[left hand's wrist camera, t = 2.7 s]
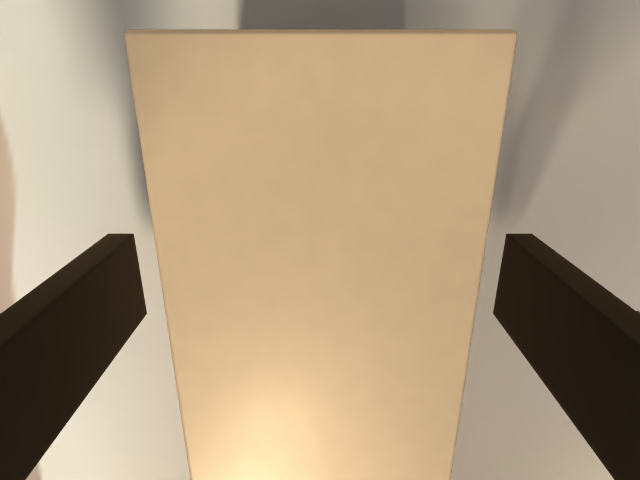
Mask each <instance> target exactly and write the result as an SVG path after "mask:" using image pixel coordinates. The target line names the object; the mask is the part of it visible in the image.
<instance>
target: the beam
mask: <svg viewBox="0 0 640 480" xmlns="http://www.w3.org/2000/svg"><path fill="white" fill-rule="evenodd" d="M124 37H125V44H126V50H127V57H128V64H129V70H130V77H131V84H132V91H133V97H134V104H135V111H136V117H137V124H138V131H139V137H140V144H141V151H142V158H143V164H144V171H145V178H146V184H147V191H148V198H149V204H150V211H151V218H152V224H153V231H154V238H155V245H156V251H157V258H158V265H159V271H160V278H161V285H162V291H163V298H164V305H165V311H166V318H167V325H168V332H169V338H170V345H171V352H172V358H173V365H174V372H175V378H176V385H177V392H178V399H179V405H180V412H181V419H182V425H183V432H184V439H185V445H186V452H187V459H188V465H189V472H190V479H191V480H450V478H451V471H452V464H453V458H454V451H455V444H456V438H457V431H458V425H459V418H460V411H461V405H462V398H463V391H464V385H465V378H466V371H467V365H468V358H469V351H470V345H471V338H472V331H473V325H474V318H475V311H476V305H477V298H478V291H479V285H480V278H481V271H482V265H483V258H484V251H485V245H486V238H487V231H488V225H489V218H490V211H491V205H492V198H493V192H494V185H495V178H496V172H497V165H498V158H499V152H500V145H501V138H502V132H503V125H504V118H505V112H506V105H507V98H508V92H509V85H510V78H511V72H512V65H513V58H514V52H515V45H516V38H517V33H516V31H514V30H512V29H129V30H127V31H125V35H124Z"/></svg>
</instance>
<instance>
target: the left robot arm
mask: <svg viewBox="0 0 640 480" xmlns="http://www.w3.org/2000/svg"><path fill="white" fill-rule="evenodd" d="M146 314H147V311H146V305H145V299H144V293H143V287H142V281H141V275H140V269H139V263H138V257H137V251H136V245H135V239H134V234H107V235H106V236H105V237H103V238H102V239H101V240H99V241H98V242H97V243H95V244H94V245H93V246H91V247H90V248H88V249H87V250H86V251H84V252H83V253H82V254H80V255H79V256H78V257H76V258H75V259H74V260H72V261H71V262H70V263H68V264H67V265H66V266H64V267H63V268H62V269H60V270H59V271H58V272H56V273H55V274H54V275H52V276H51V277H50V278H48V279H47V280H45V281H44V282H43V283H41V284H40V285H39V286H37V287H36V288H35V289H33V290H32V291H31V292H29V293H28V294H27V295H25V296H24V297H23V298H21V299H20V300H19V301H17V302H16V303H15V304H13V305H12V306H11V307H9V308H8V309H6V310H5V311H4V312H2V313H1V314H0V480H26V478H27V477H28V476H29V474H30V473H31V471H32V470H33V469H34V467H35V466H36V465H37V463H38V462H39V460H40V459H41V458H42V456H43V455H44V454H45V452H46V451H47V449H48V448H49V447H50V445H51V444H52V443H53V441H54V440H55V439H56V437H57V436H58V434H59V433H60V432H61V430H62V429H63V428H64V426H65V425H66V423H67V422H68V421H69V419H70V418H71V417H72V415H73V414H74V413H75V411H76V410H77V408H78V407H79V406H80V404H81V403H82V402H83V400H84V399H85V397H86V396H87V395H88V393H89V392H90V391H91V389H92V388H93V386H94V385H95V384H96V382H97V381H98V380H99V378H100V377H101V376H102V374H103V373H104V371H105V370H106V369H107V367H108V366H109V365H110V363H111V362H112V360H113V359H114V358H115V356H116V355H117V354H118V352H119V351H120V350H121V348H122V347H123V345H124V344H125V343H126V341H127V340H128V339H129V337H130V336H131V334H132V333H133V332H134V330H135V329H136V328H137V326H138V325H139V323H140V322H141V321H142V319H143V318H144V317H145V315H146ZM493 314H494V315H495V317H496V318H497V319H498V321H499V322H500V323H501V325H502V326H503V328H504V329H505V330H506V332H507V333H508V334H509V336H510V337H511V339H512V340H513V341H514V343H515V344H516V345H517V347H518V348H519V350H520V351H521V352H522V354H523V355H524V356H525V358H526V359H527V360H528V362H529V363H530V365H531V366H532V367H533V369H534V370H535V371H536V373H537V374H538V376H539V377H540V378H541V380H542V381H543V382H544V384H545V385H546V386H547V388H548V389H549V391H550V392H551V393H552V395H553V396H554V397H555V399H556V400H557V402H558V403H559V404H560V406H561V407H562V408H563V410H564V411H565V412H566V414H567V415H568V417H569V418H570V419H571V421H572V422H573V423H574V425H575V426H576V428H577V429H578V430H579V432H580V433H581V434H582V436H583V437H584V439H585V440H586V441H587V443H588V444H589V445H590V447H591V448H592V449H593V451H594V452H595V454H596V455H597V456H598V458H599V459H600V460H601V462H602V463H603V465H604V466H605V467H606V469H607V470H608V471H609V473H610V474H611V475H612V477H613V478H614V480H640V312H639V311H635V310H634V309H632V308H631V307H629V306H628V305H627V304H625V303H624V302H623V301H621V300H620V299H619V298H617V297H616V296H615V295H613V294H612V293H611V292H609V291H608V290H607V289H605V288H604V287H603V286H601V285H600V284H599V283H597V282H596V281H595V280H593V279H592V278H591V277H589V276H588V275H586V274H585V273H584V272H582V271H581V270H580V269H578V268H577V267H576V266H574V265H573V264H572V263H570V262H569V261H568V260H566V259H565V258H564V257H562V256H561V255H560V254H558V253H557V252H556V251H554V250H553V249H552V248H550V247H549V246H547V245H546V244H545V243H543V242H542V241H541V240H539V239H538V238H537V237H535V236H534V235H533V234H506V239H505V245H504V251H503V257H502V263H501V269H500V275H499V281H498V287H497V293H496V299H495V305H494V311H493Z"/></svg>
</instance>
